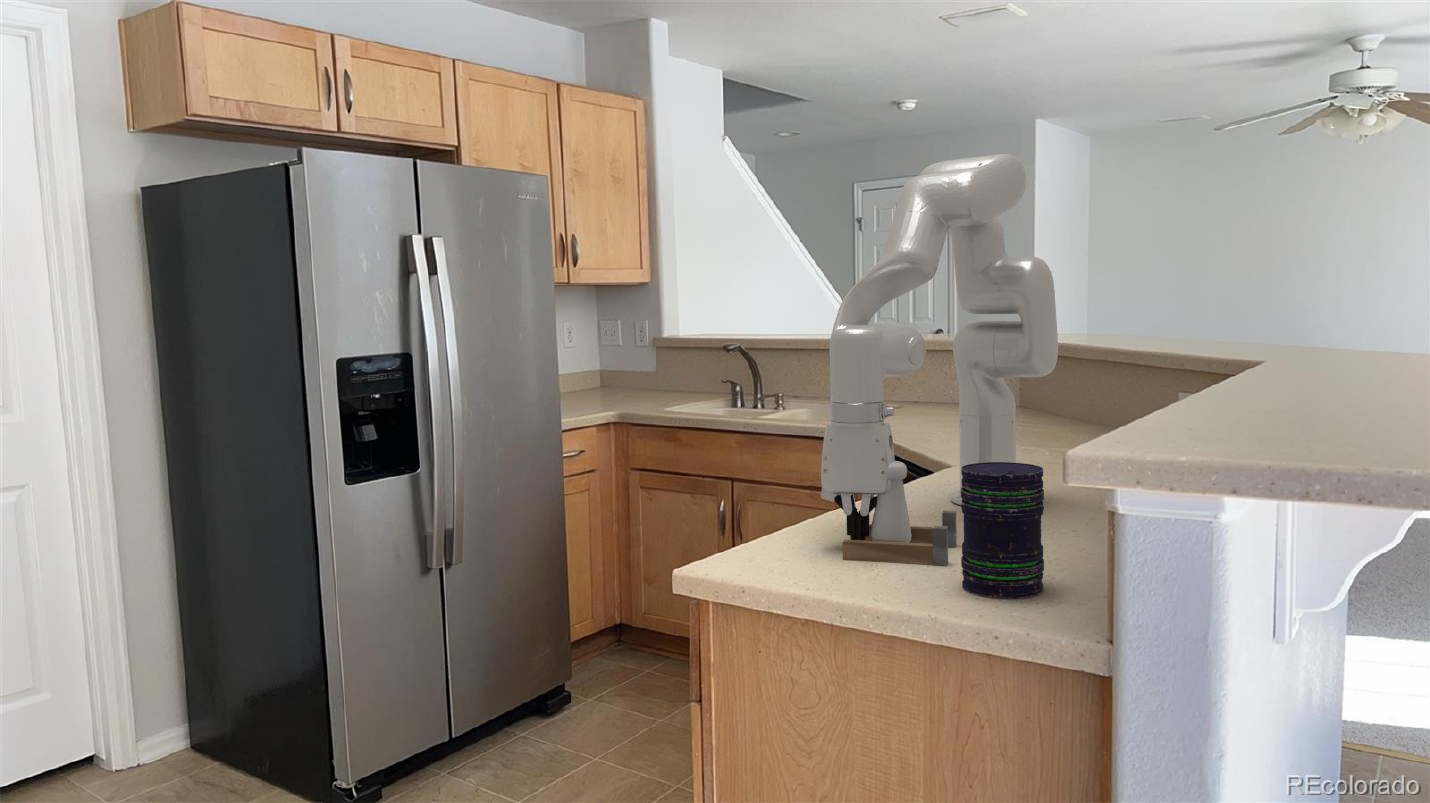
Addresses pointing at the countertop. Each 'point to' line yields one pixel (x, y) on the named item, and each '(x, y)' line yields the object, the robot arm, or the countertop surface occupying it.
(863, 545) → the chute
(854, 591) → the countertop surface
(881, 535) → the salt shaker
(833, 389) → the robot arm
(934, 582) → the countertop surface
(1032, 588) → the dark blue cylinder
